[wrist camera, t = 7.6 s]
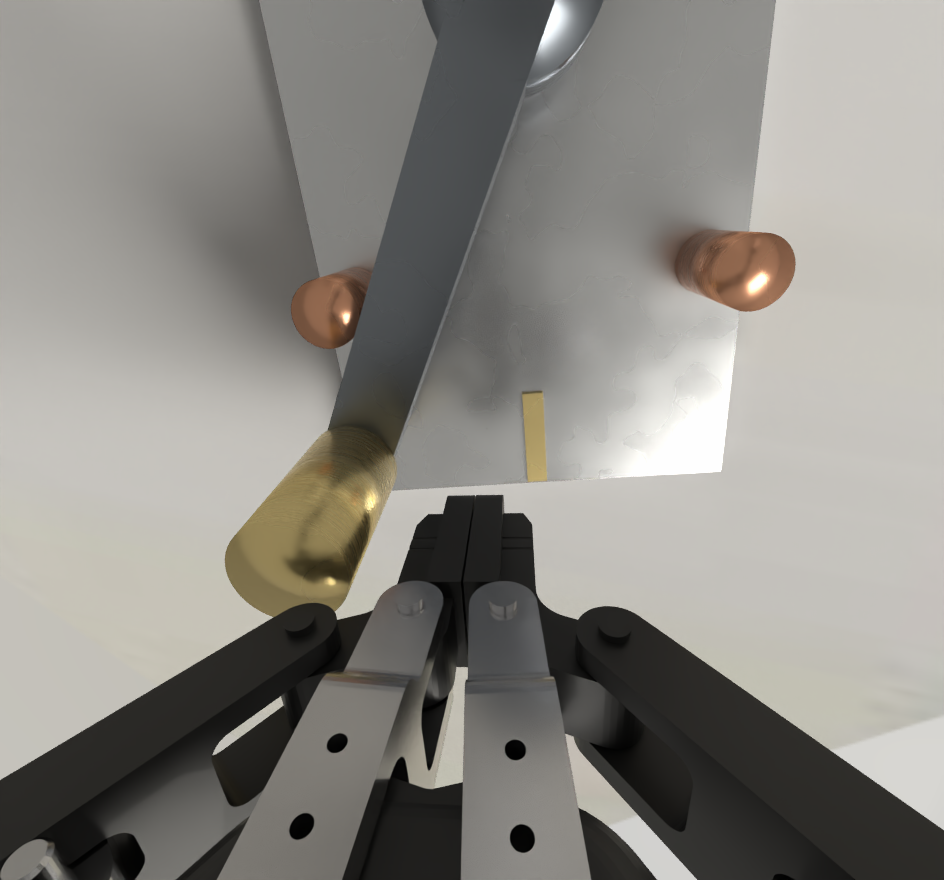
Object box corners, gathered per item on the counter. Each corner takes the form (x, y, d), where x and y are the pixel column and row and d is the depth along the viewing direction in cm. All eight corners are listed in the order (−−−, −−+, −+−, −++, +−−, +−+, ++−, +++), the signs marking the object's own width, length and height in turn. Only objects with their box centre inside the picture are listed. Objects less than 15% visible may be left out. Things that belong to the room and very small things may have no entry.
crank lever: (464, -149, 10) (404, -660, 4) (628, -67, 11) (784, -433, 5) (304, 453, 16) (188, 589, 10) (411, 492, 17) (358, 644, 11)
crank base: (255, -69, 13) (155, -182, 9) (779, -165, 12) (904, -339, 8) (372, 481, 20) (341, 542, 16) (712, 461, 18) (763, 522, 15)
